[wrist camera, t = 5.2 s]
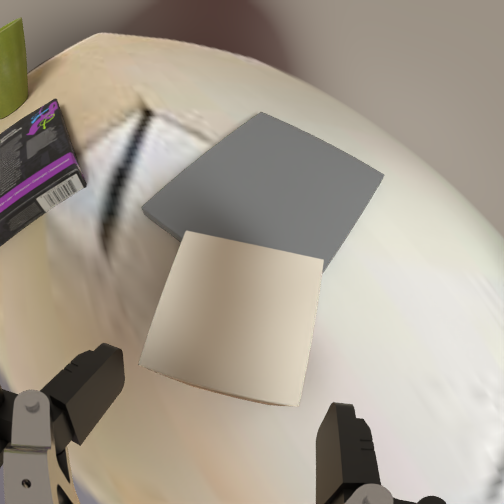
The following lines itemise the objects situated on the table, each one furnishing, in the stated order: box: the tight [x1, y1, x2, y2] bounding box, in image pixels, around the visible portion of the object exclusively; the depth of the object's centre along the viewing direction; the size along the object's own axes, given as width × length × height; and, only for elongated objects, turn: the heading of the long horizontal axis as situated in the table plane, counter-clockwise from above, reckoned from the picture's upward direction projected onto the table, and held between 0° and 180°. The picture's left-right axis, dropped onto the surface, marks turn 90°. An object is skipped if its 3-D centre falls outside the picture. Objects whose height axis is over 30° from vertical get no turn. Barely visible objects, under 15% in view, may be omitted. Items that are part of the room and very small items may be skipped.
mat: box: [141, 112, 384, 274], centre depth 24 cm, size 14×16×1 cm
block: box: [138, 231, 324, 407], centre depth 14 cm, size 5×5×10 cm
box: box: [0, 99, 86, 246], centre depth 25 cm, size 14×4×20 cm
